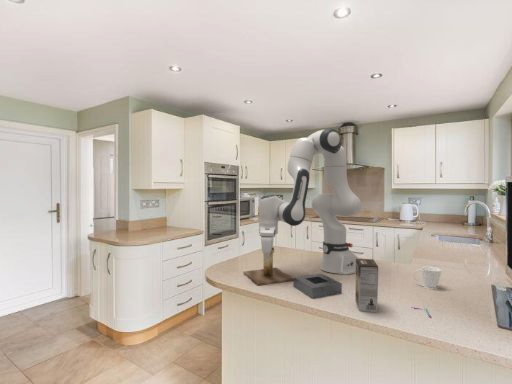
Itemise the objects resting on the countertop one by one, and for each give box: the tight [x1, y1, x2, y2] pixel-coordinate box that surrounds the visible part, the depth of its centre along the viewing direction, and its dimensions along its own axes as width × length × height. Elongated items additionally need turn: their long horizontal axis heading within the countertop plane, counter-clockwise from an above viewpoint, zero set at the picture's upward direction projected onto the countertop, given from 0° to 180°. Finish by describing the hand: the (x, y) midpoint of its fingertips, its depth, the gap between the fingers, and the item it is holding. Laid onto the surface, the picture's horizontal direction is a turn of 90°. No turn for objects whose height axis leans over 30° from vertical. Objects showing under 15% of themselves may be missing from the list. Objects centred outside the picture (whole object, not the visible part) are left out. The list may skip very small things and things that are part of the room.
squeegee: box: [410, 306, 433, 319], centre depth 99 cm, size 15×1×5 cm
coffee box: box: [354, 258, 379, 313], centre depth 100 cm, size 9×6×16 cm
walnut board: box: [243, 267, 294, 287], centre depth 131 cm, size 18×18×1 cm
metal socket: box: [293, 272, 343, 299], centre depth 116 cm, size 14×14×4 cm
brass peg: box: [262, 247, 275, 276], centre depth 131 cm, size 6×6×13 cm
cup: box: [413, 266, 442, 290], centre depth 120 cm, size 7×10×8 cm
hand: (268, 258), depth 131 cm, fingers open, 8 cm apart
